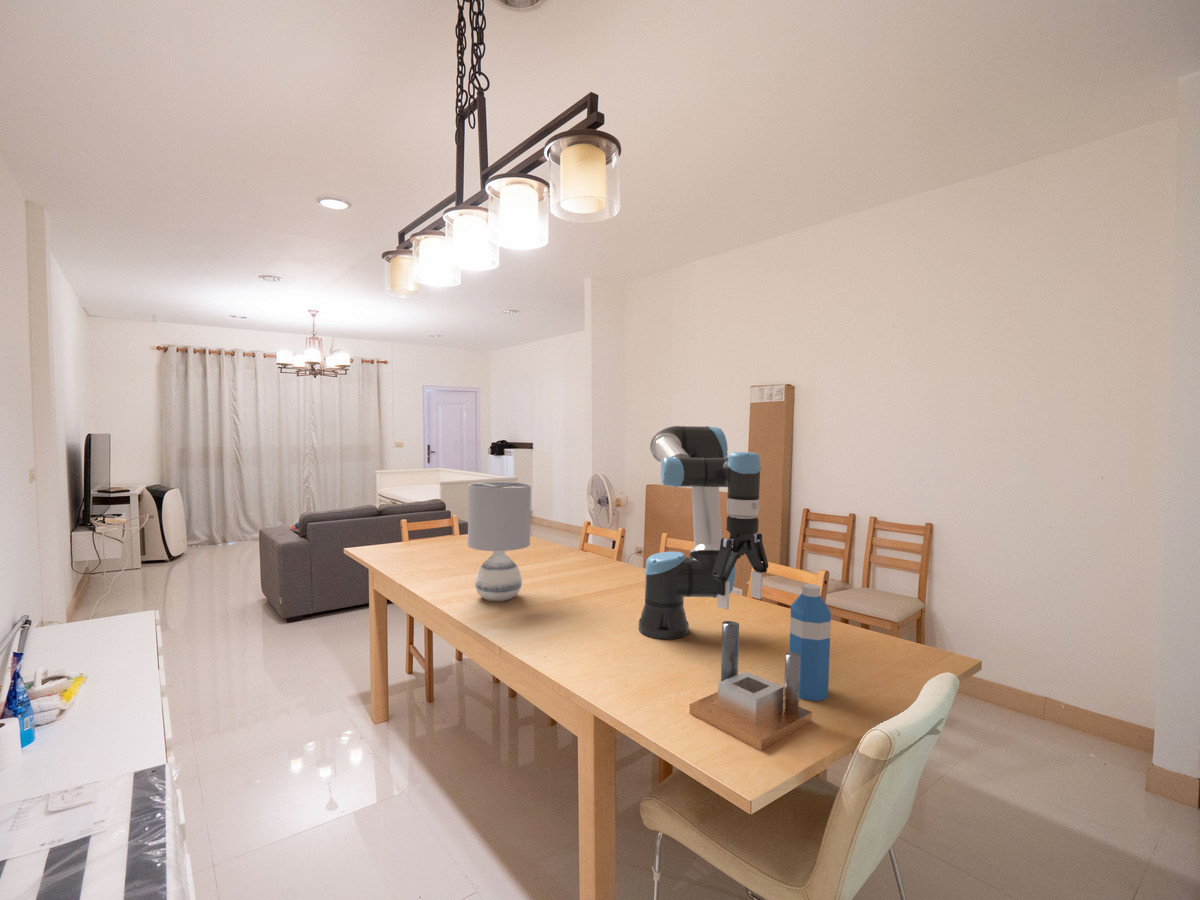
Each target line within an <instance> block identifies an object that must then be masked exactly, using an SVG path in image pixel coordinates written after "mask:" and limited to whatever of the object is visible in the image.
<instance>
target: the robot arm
mask: <svg viewBox="0 0 1200 900" xmlns="http://www.w3.org/2000/svg"><path fill="white" fill-rule="evenodd" d="M728 450H729V449H728V441H727V438H726V434H725V433H724V430H722V429H721V428H720V427H717V426H710V425H709V426H708V425H707V426H690V425H689V426H687V425H686V426H683V425H675V426H673V425H672V426H669V427H665V428H664V429H662V430H660V431H658V432H657V433H656V434H655V435H654V436H653V437H652V439H651V441H650V452H651V454H652V457H653V458H654V459H655V460H656V461H658V462H659V463H661V466H660V478H661V483H662V485H664V486H667V487H675V488H679V487H684V488H686V487H688V488H689V487H691V501H692V502H691V505H692V523H693V525H692V526H693V543H694V544H693V545H694V546H693V548H692V549H691V550H690V551H689V557H686V555H685V553H683V552H682V551H681V552H680V551H662V552H661V551H660V552H658V553H657V552H656V553H654V554H651V555H649V557H647V559H646V561H645V562H646V563H645V571H644V575H645V584H644V589H645V591H644V605H643V608H642V612H641V615H640V618H639V620H638V631H639V633H641V634H642V635H645V636H647V637H650V638H654V639H659V640H660V639H661V640H662V639H663V640H673V639H674V640H675V639H679V638H683V637H685V636H687V635H688V634H689V633H690V631H689V630H690V629H689V628H690V627H689V621H688V619H687V616H686V615H687V614H686V610H685V608H684V600H685V599H684V598H685V597H686V598H687V597H688V598H714V599H715V598H717V608H719V609H723V610H726V611H728V610H730V609H729V608H730V594H731V593H732V591H733V589H734V586H735V580H736V572H737V571H736V569H737V568H736V563H737V561H738V560H739V559H740V558H741V557H742V556H744V555H746V558H747V560H748V561H749V564H751V568H753V570H751V572H750V597H751V598H754V599H758V600H761V599H762V596H763V593H762V592H763V591H762V590H763V574H764V573H765V574H766V573H767V572H768V568H769V562H768V558H767V555H766V550H765V547H764V543H763V534H762V533H758V532H759V521H760V519H759V518H758V516H759V512H760V510H759V509H760V491H761V490H760V487H761V486H760V484H761V470H762V467H761V456H760V454H759V453H757V452H748V451H744V452H743V451H742V452H741V451H734V452H730V453H729V454H728ZM720 488H727V498H726V514H727V515H728V516H727V517H726V527H725V529H726V531H727V532H728V533H729V538H726V537H723V534H722V530H723V529H722V515H721V514H722V513H721V501H720V500H721V499H720Z"/></svg>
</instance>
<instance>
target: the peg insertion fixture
mask: <svg viewBox="0 0 1200 900" xmlns="http://www.w3.org/2000/svg"><path fill="white" fill-rule="evenodd" d="M800 657H801V656H800V654H798V653H795V652H789V651H788V652H787V651H786V652H785V657H784V660H785V661H784V662H785V663H784V686H782V685H779V684H778V683H775V682H773V681H771V680H768V679H765V678H763V677H761V676H758V675H756V674H753V673H751V672H749V671H744V672H741V673H738V675H736V676H734V677H731V678H729V679H726V680H724V681H720V682H718V684H717V687H718V689H717V692H714V693H713V694H712V693H711V694H709V695H707V696H705V697H703V698H700V699H698V700H696V701H693V702H691V703H689V712H688V713H689V714H690V715H692V716H694V717H697V718H698V719H700V720H701V721H703V722H706V723H707V724H709V725H711V726H713V727H715V728H717V729H719V730H721V731H723V732H724V733H727V734H729V736H732V737H734V738H736V739H737V740H740V741H741V742H743V743H745V744H747V745H750V746H751V747H753V748H755V749H756V750H759V751H763V750H764V749H766V748H768V747H770V746H771V745H774V744H775V743H776V742H779V741H780V740H782V739H784V738H785V737H787V736H789V735H790V734H793V733H794V732H796V731H798V730H799V729H801V728H803V727H804V726H806V725H808V724H809V723H811V722H812V721H813V720H812V717H813V712H812V711H810V710H808V709H805V708H804V707H801V706H800V698H799V687H800Z"/></svg>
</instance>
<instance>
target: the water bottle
mask: <svg viewBox="0 0 1200 900" xmlns="http://www.w3.org/2000/svg"><path fill="white" fill-rule="evenodd" d="M801 587H802V588H801V593H800V594H799V595H798V596H797V598H796V599H795V600H794V601H793V602H792V603H791V604H790V620H789V621H790V623H789V624H790V625H789V647H788V648H789V650H788V652H795V653H798V654H800V656H801V657H800V687H799V700H804V701H805V700H808V701H813V702H819V701H823V700H826V699H827V700H828V698H829V684H830V683H829V682H830V680H829V679H830V676H829V675H830V650H831V649H830V648H831V624H832V623H831V620H832V617H831V616H832V613H831V610H830V608H829V606H828V605H827V603H826V602H825V601H824V599H823V598H822V596H821V587H820V585H817V584H813V583H812V584H811V583H804V584H802V586H801Z"/></svg>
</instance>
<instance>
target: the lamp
mask: <svg viewBox="0 0 1200 900" xmlns="http://www.w3.org/2000/svg"><path fill="white" fill-rule="evenodd" d="M531 493H532V484H530V483H526V482H517V481H515V482H514V481H483V482H473V483H469V484H468V494H467V495H468V496H467V497H468V498H467V499H468V502H467V504H468V505H467V510H468V511H467V546H468V547H469V548H470V549H473V550H477V551H484V552H485V551H487V552H492V555H491V556H489V557H488V558H487V559H486V560H485V561H484V562H483V563H482V564H481V565H480V567H479V568H478V571H477V572H476V574H475V575H476V576H475V582H474V587H475V589H476V592H477V594H478V595H479V596H480V597H481V598H483V599H485V600H486V601H490V602H494V603H495V602H497V603H499V602H506V601H509V600H512V599H513V598H515V597H516V596H517V595H518V594H519V593H520V591H521V589H522V585H523V579H522V577H523V576H522V574H521V571H520V569H519V567H518V565H517V564H516V563H515V562H514V560H513V559H512V558H510V556H508V555H507V554H506V551H508V552H509V551H515V550H516V551H518V550H521V549H525V548H528V547H529V546H530V545H531V513H532V512H531V504H532V503H531V502H532V501H531V500H532V495H531Z"/></svg>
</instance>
